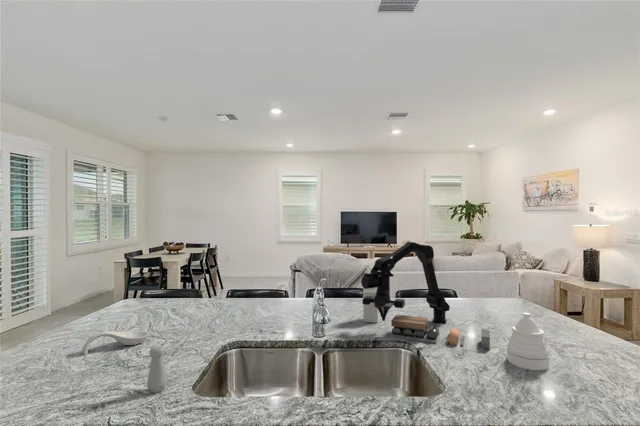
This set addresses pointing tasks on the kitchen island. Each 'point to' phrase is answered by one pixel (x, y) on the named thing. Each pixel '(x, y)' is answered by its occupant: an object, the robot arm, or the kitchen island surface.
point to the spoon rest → (119, 338)
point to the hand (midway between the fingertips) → (383, 320)
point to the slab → (409, 322)
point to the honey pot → (527, 345)
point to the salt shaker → (157, 370)
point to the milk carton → (370, 307)
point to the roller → (453, 336)
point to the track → (419, 334)
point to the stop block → (485, 339)
